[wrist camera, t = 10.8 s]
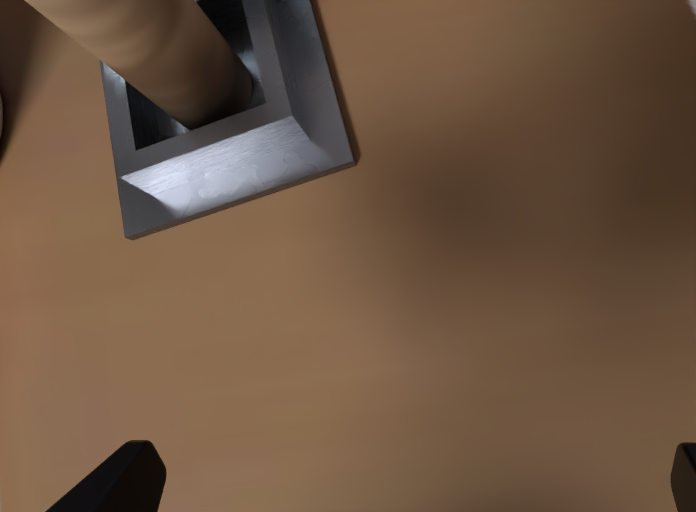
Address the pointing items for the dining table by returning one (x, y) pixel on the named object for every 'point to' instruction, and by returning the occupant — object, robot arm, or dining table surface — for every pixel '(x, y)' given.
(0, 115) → the cylinder vase
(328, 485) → the dining table surface
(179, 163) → the cup bracket
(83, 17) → the tan round-top cylinder
